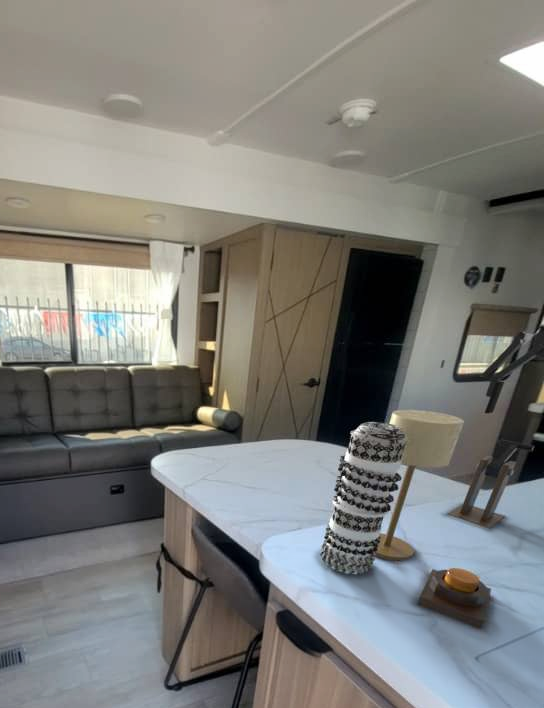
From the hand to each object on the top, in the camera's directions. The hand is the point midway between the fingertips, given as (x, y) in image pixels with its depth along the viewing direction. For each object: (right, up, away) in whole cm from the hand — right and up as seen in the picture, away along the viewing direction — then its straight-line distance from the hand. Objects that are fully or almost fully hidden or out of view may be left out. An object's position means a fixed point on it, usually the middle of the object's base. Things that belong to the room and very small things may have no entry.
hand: (526, 418), depth 85 cm
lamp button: (-32, -31, -24) cm, 50 cm away
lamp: (-35, -27, -8) cm, 45 cm away
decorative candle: (-44, -29, -13) cm, 55 cm away
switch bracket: (-7, -21, +5) cm, 23 cm away
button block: (-32, -34, -22) cm, 51 cm away
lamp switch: (-3, -9, +2) cm, 10 cm away
